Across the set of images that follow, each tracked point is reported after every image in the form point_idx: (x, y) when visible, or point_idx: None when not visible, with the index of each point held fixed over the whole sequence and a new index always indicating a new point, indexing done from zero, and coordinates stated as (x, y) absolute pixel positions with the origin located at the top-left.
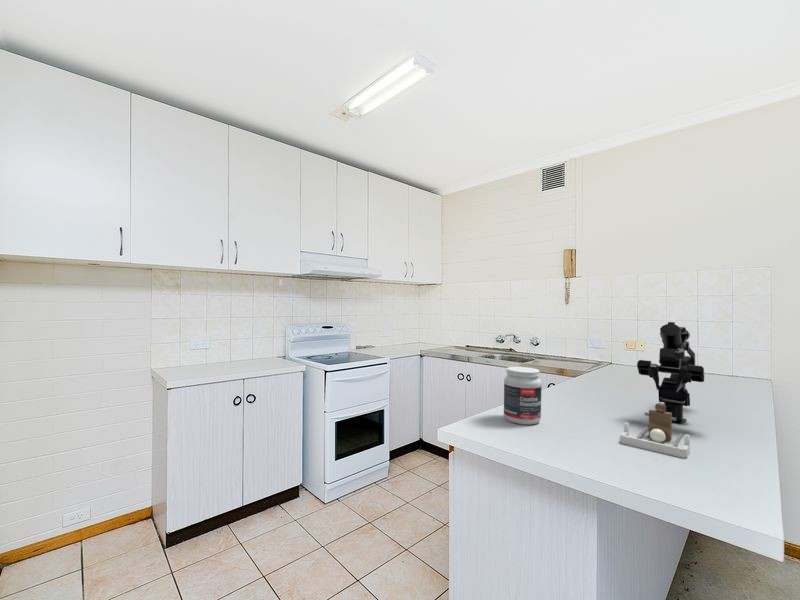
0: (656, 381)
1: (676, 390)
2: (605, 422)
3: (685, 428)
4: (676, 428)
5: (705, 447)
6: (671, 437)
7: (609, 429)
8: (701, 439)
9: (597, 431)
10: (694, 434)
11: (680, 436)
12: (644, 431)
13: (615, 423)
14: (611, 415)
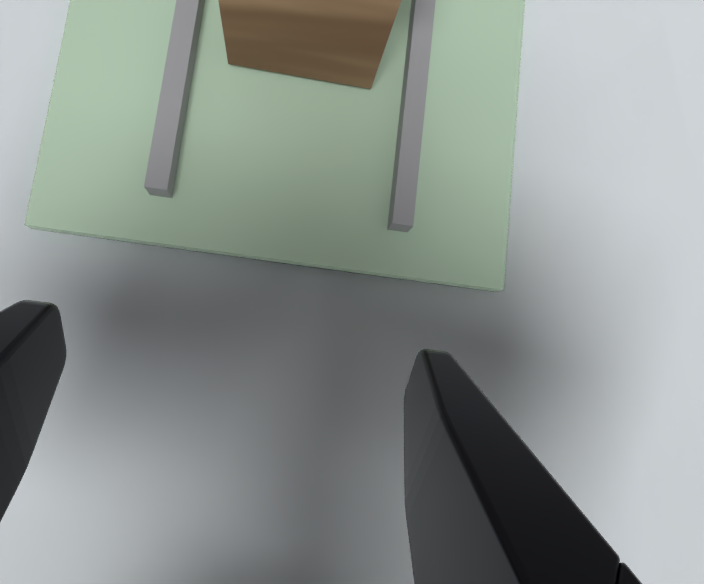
0: (518, 475)
1: (27, 305)
2: (683, 290)
3: (104, 573)
4: (180, 510)
5: (8, 79)
6: (228, 54)
7: (624, 116)
8: (8, 283)
9: (676, 20)
10: None
11: (162, 94)
12: (411, 67)
13: (620, 313)
14: (693, 564)
